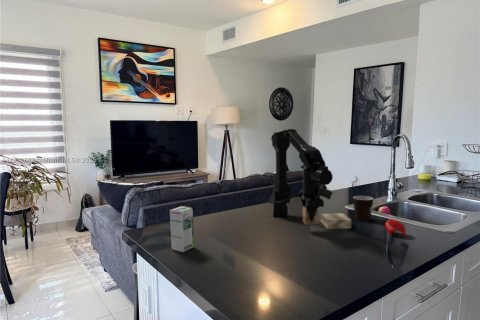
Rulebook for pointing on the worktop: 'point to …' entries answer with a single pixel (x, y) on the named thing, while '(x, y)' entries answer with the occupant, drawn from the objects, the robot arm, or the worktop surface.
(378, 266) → the worktop surface
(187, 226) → the syrup box
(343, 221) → the birch block
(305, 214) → the walnut block
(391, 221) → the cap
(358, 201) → the coffee mug
